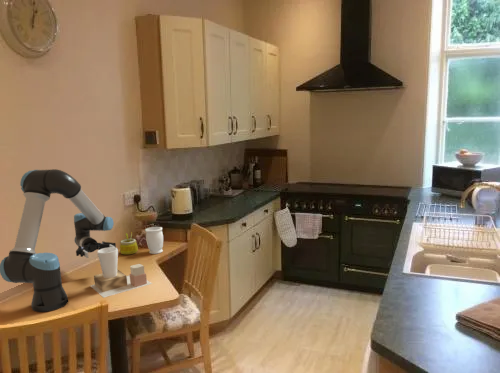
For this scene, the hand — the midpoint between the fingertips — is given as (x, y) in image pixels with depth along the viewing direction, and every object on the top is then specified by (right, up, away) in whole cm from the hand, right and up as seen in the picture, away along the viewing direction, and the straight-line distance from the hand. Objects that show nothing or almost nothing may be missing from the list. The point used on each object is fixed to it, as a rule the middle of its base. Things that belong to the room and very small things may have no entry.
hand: (101, 252), depth 219 cm
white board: (+12, -17, -6) cm, 21 cm away
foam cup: (+7, -11, -7) cm, 15 cm away
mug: (0, -8, +54) cm, 54 cm away
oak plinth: (+7, -15, -6) cm, 18 cm away
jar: (+17, -8, +51) cm, 54 cm away
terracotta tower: (+20, -15, -6) cm, 26 cm away
